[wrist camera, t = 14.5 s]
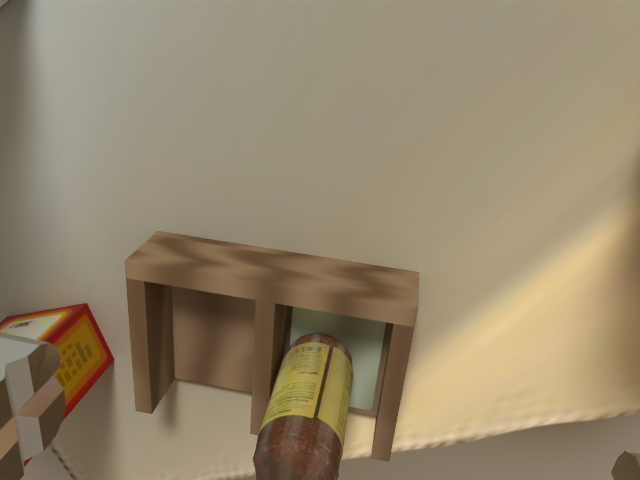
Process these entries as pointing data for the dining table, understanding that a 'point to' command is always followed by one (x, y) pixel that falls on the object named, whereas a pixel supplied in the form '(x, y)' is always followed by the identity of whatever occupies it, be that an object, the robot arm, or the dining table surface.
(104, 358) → the baking soda box
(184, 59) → the dining table surface
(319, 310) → the wooden divided tray
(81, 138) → the dining table surface
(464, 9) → the dining table surface
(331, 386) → the sauce bottle
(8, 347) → the robot arm
